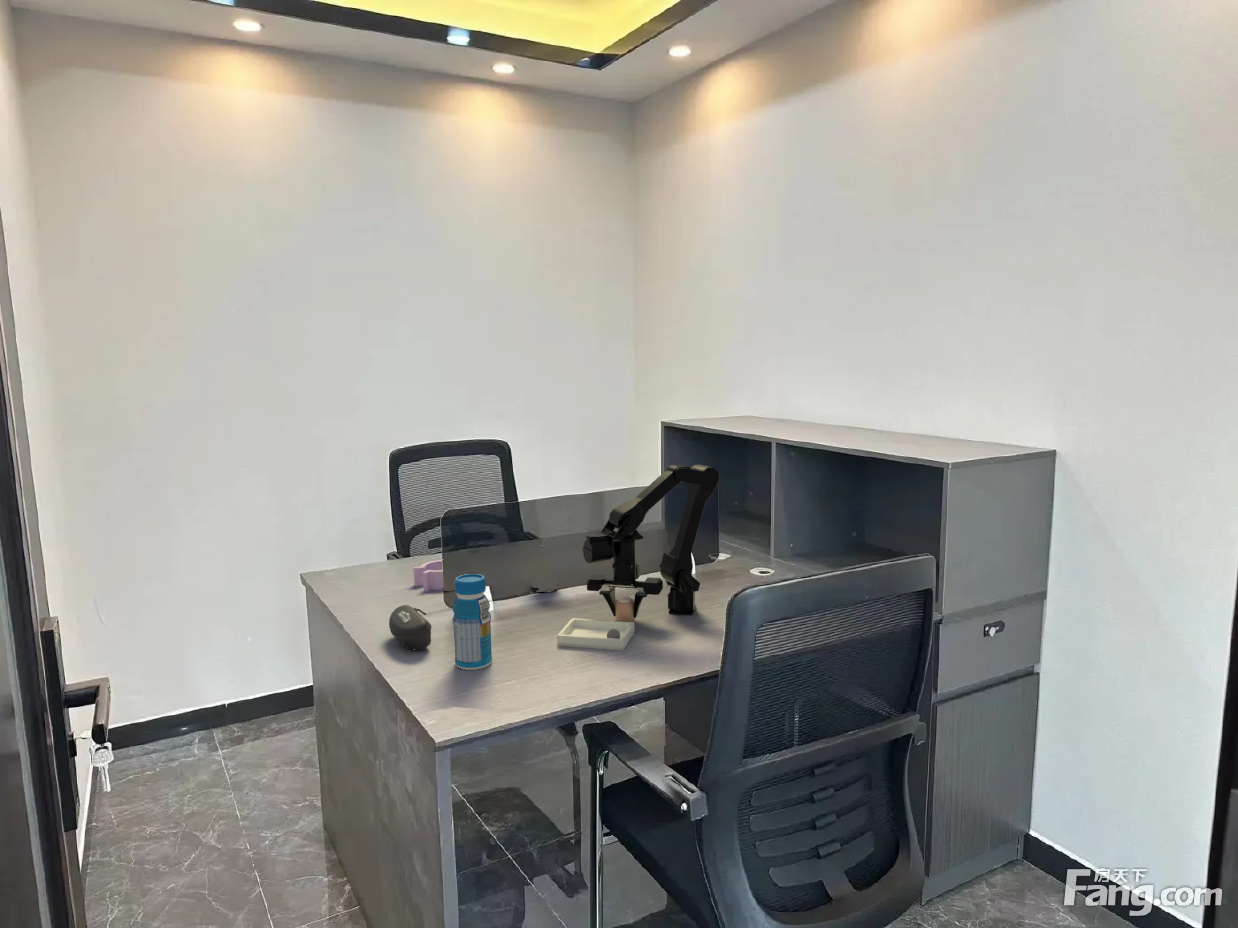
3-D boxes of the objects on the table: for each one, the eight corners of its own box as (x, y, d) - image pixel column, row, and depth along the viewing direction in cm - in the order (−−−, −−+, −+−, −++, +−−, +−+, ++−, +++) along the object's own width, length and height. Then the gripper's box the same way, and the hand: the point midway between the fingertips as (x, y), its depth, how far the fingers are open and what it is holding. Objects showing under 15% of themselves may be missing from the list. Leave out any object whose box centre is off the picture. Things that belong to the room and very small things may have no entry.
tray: (634, 632, 193) (634, 622, 193) (623, 650, 182) (622, 640, 181) (572, 627, 197) (572, 617, 197) (557, 645, 186) (557, 635, 185)
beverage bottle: (459, 674, 170) (454, 585, 167) (451, 660, 178) (446, 574, 175) (497, 667, 174) (493, 580, 170) (487, 653, 181) (484, 570, 178)
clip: (471, 575, 244) (470, 553, 243) (491, 584, 234) (490, 561, 233) (410, 588, 232) (409, 565, 231) (429, 598, 222) (427, 575, 221)
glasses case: (382, 635, 194) (380, 605, 193) (424, 627, 199) (422, 597, 198) (403, 660, 179) (401, 627, 177) (448, 650, 184) (446, 618, 183)
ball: (621, 640, 186) (621, 627, 186) (618, 645, 183) (618, 632, 183) (608, 639, 187) (608, 626, 187) (605, 644, 184) (605, 631, 184)
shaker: (637, 618, 203) (636, 596, 202) (632, 625, 198) (632, 602, 197) (618, 617, 204) (617, 595, 203) (613, 623, 199) (613, 601, 198)
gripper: (666, 551, 204) (666, 608, 206) (597, 547, 208) (598, 604, 211) (658, 562, 193) (658, 623, 196) (585, 558, 198) (586, 618, 200)
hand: (625, 616), depth 201 cm, fingers closed on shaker, 5 cm apart
